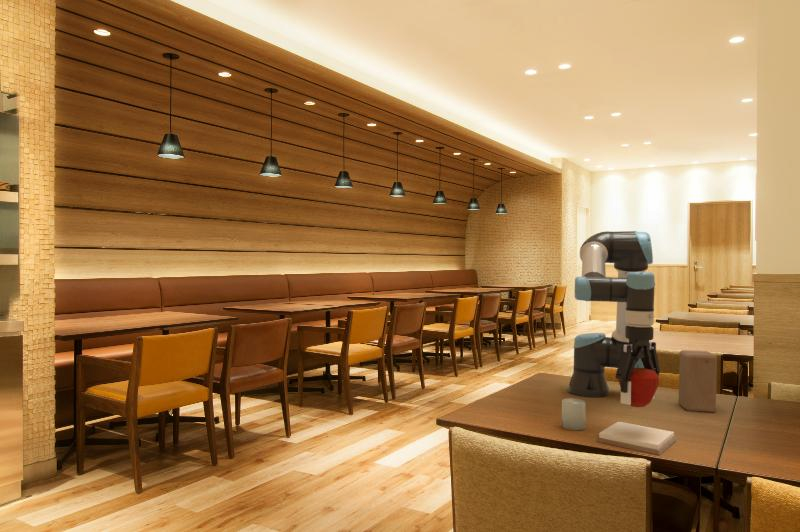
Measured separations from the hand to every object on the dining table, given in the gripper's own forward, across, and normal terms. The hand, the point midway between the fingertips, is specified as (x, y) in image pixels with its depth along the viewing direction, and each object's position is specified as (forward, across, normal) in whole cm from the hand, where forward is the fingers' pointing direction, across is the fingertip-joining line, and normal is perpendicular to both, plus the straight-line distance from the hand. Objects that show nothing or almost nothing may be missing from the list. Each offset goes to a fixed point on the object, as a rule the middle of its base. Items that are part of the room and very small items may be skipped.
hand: (637, 401), depth 168 cm
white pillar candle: (+12, -4, +19) cm, 23 cm away
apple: (+2, 0, 0) cm, 2 cm away
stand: (+12, 0, 0) cm, 12 cm away
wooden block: (+12, +53, +10) cm, 55 cm away
